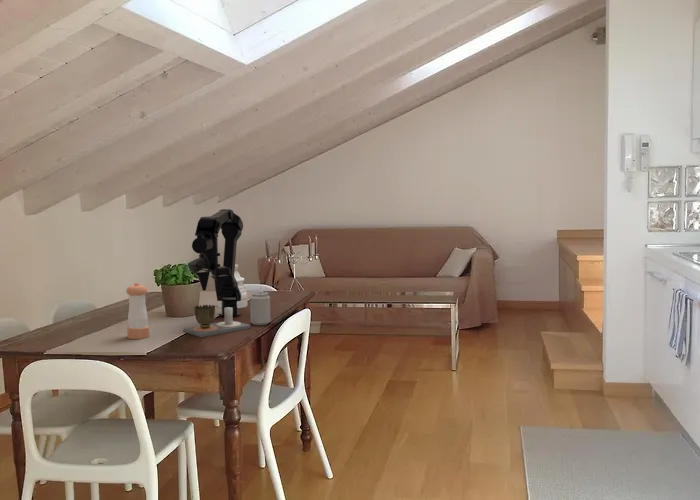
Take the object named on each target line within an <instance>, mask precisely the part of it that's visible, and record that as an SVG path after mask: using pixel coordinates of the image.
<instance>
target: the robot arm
mask: <svg viewBox="0 0 700 500" xmlns="http://www.w3.org/2000/svg"><path fill="white" fill-rule="evenodd" d="M218 210H219V211H217V212H216V213H214V214H212V215H210V216H209V215H208V216H201V217H200V218H199V220H198V222H197V225H196V229H195V234H194V236H196V238H195V239H194V240H193V241H192V243H191V248H192V250H193V252H195V253H196V254H198V258H195V259H193V260H191V261H189V262H188V263H187V266H188V269H189V271H190V272H192V273H193V275H195V276H196V277H197V278H198V281H199V284H200V287H201V289H202V291H206V290H207V287H208V281H209V278H210V273H211V278H212V279H213V280H214V281H213V282H214V289H215V295H216V300H217V301H216V302H218V301H222V308H221V313H218V316H221V317H223V318H225V316H224V308H226V307H232V308H233V317H237V316H241V313H238V308H237V302H238V301H241V293H240V290H239V288H238V283H237V281H236V279H235V277H234V273H235V265H236V257H237V244H238V243H237V242H238V240H239V239H240V237H241V236H242V232H243V231H242V230H243V228H244V223H243V220H242V218H241V217H240V216H239V215H237V214H236V213H234V211H233V210H232V209H225V208H224V209H223V208H221V209H218ZM220 231H221V234H222V236H223V238H224V249H223V250H224V251H223V264H222V266H221V264H220V263H219V257H220V256H221V253H220V252H219V250H218V238H219V233H220Z"/></svg>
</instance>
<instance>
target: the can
mask: <svg viewBox="0 0 700 500" xmlns="http://www.w3.org/2000/svg"><path fill="white" fill-rule="evenodd" d="M249 300H250V301H249V304H250V307H249V308H250V309H249V311H250V323H251V324H253V326H254V325H255V326H266V325H268V324H269V323H271V296H269V292H266V291H256V292H252V293H251V295H250V297H249Z"/></svg>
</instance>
